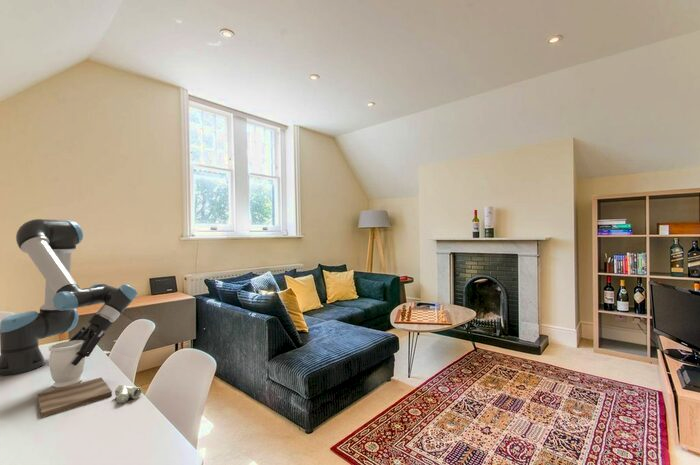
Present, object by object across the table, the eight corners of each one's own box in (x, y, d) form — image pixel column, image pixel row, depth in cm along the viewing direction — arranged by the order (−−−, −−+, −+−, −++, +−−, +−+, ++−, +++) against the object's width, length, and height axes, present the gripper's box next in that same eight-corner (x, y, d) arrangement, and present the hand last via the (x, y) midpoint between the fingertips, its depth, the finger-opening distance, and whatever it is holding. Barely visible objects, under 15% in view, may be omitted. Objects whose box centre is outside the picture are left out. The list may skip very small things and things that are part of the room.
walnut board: (37, 398, 115) (37, 394, 115) (101, 381, 128) (101, 377, 128) (41, 417, 103) (41, 412, 103) (111, 395, 116) (111, 391, 116)
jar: (55, 392, 120) (54, 350, 120) (45, 385, 125) (44, 346, 125) (90, 380, 129) (89, 341, 129) (79, 375, 134) (78, 338, 134)
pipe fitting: (123, 407, 109) (142, 395, 115) (122, 395, 109) (140, 384, 115) (105, 404, 111) (124, 393, 118) (104, 392, 111) (123, 382, 117)
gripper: (126, 326, 135) (81, 380, 121) (97, 320, 146) (53, 369, 132) (111, 316, 131) (63, 371, 117) (83, 311, 142) (35, 360, 128)
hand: (57, 370), depth 125 cm, fingers closed on jar, 10 cm apart
